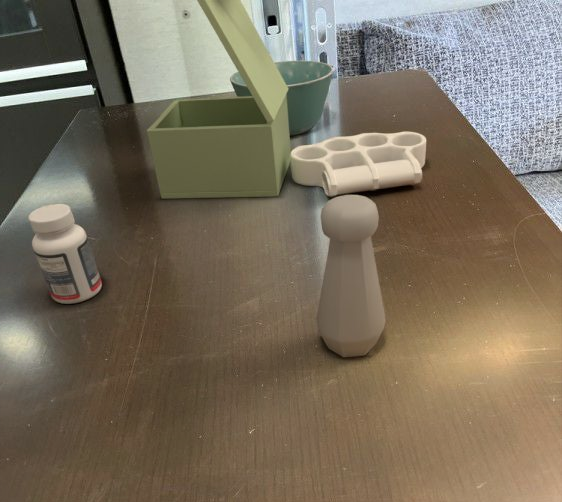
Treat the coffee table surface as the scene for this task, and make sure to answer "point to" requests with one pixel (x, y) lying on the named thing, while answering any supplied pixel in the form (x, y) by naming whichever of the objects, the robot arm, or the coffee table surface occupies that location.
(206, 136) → the bin
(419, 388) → the coffee table surface
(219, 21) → the bin lid
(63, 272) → the pill bottle
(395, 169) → the knuckle duster
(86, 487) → the coffee table surface
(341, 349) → the salt shaker
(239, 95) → the bowl
